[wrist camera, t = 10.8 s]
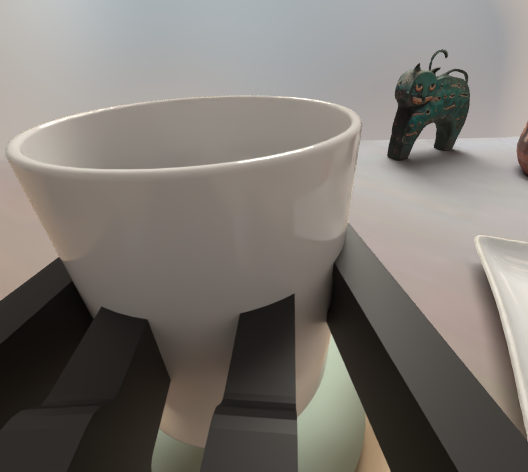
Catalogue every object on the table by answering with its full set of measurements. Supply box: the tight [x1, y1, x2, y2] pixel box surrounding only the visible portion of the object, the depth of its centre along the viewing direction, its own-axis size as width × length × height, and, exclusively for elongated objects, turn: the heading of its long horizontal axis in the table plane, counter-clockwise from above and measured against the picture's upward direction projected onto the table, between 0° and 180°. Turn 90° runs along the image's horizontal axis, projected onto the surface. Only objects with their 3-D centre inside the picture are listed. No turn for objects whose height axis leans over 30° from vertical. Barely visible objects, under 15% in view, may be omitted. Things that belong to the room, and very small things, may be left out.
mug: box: [5, 96, 362, 448], centre depth 12 cm, size 12×9×11 cm
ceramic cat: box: [387, 50, 470, 160], centre depth 60 cm, size 20×6×20 cm, turn 114°
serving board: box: [151, 334, 391, 472], centre depth 19 cm, size 20×20×2 cm
